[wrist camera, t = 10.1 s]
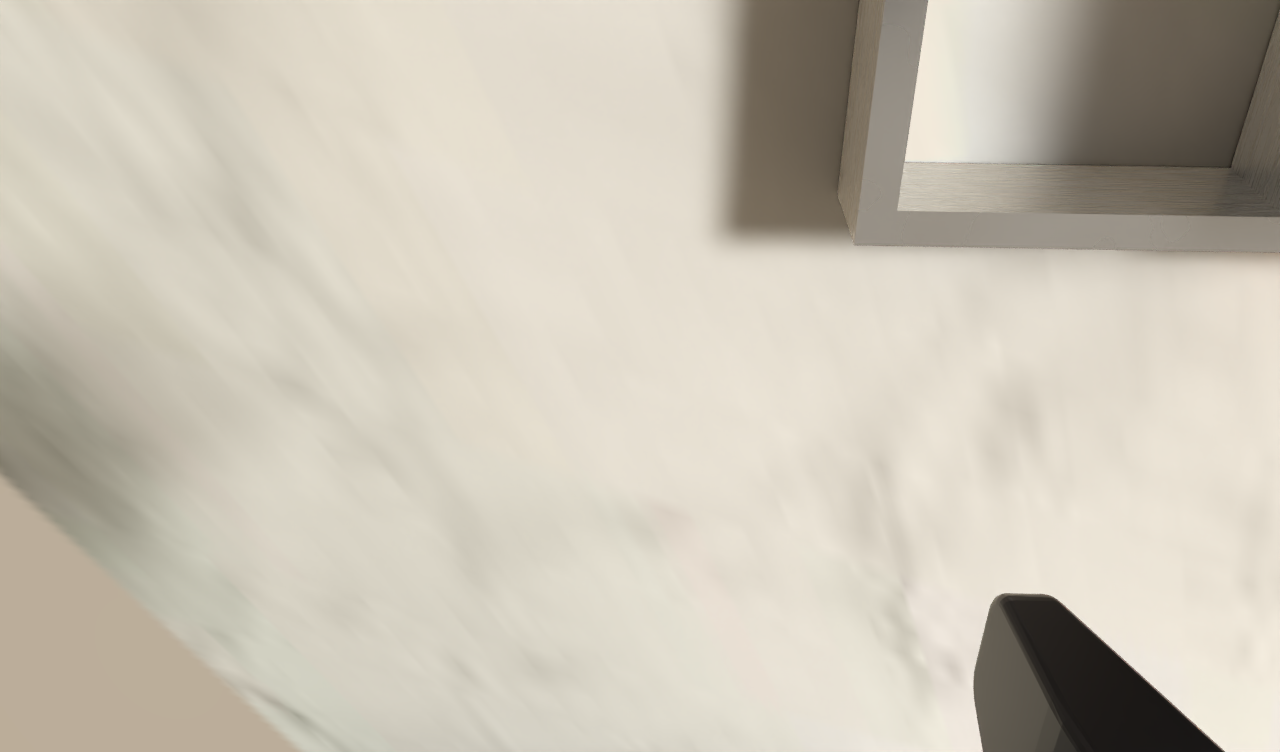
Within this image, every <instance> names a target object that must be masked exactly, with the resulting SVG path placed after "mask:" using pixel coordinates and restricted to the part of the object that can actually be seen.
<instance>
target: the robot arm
mask: <svg viewBox="0 0 1280 752" xmlns="http://www.w3.org/2000/svg"><path fill="white" fill-rule="evenodd" d="M973 689H974V701H975V707H976V713H977V719H978V725H979V731H980V737H981V743H982V749H983V752H1225V751H1224V750H1223V749H1222V748H1220V747H1219V746H1218V745H1217V744H1216V743H1215V742H1214V741H1213V740H1212V739H1211V738H1209V737H1208V736H1207V735H1206V734H1205V733H1204V732H1203V731H1202V730H1201V729H1200V728H1198V727H1197V726H1196V725H1195V724H1194V723H1193V722H1192V721H1191V720H1190V719H1189V718H1187V717H1186V716H1185V715H1184V714H1183V713H1182V712H1181V711H1180V710H1179V709H1178V708H1176V707H1175V706H1174V705H1173V704H1172V703H1171V702H1170V701H1169V700H1168V699H1167V698H1165V697H1164V696H1163V695H1162V694H1161V693H1160V692H1159V691H1158V690H1157V689H1156V688H1154V687H1153V686H1152V685H1151V684H1150V683H1149V682H1148V681H1147V680H1146V679H1145V678H1143V677H1142V676H1141V675H1140V674H1139V673H1138V672H1137V671H1136V670H1135V669H1134V668H1132V667H1131V666H1130V665H1129V664H1128V663H1127V662H1126V661H1125V660H1124V659H1123V658H1121V657H1120V656H1119V655H1118V654H1117V653H1116V652H1115V651H1114V650H1113V649H1112V648H1110V647H1109V646H1108V645H1107V644H1106V643H1105V642H1104V641H1103V640H1102V639H1101V638H1100V637H1098V636H1097V635H1096V634H1095V633H1094V632H1093V631H1092V630H1091V629H1090V628H1089V627H1087V626H1086V625H1085V624H1084V623H1083V622H1082V621H1081V620H1080V619H1079V618H1078V617H1076V616H1075V615H1074V614H1073V613H1072V612H1071V611H1070V610H1069V609H1068V608H1067V607H1065V606H1064V605H1063V604H1062V603H1061V602H1060V601H1058V600H1057V599H1055V598H1054V597H1052V596H1050V595H1045V594H1011V593H1005V594H1001V595H999V596H997V597H996V598H995V599H994V600H993V602H992V604H991V606H990V609H989V613H988V617H987V621H986V625H985V629H984V633H983V637H982V641H981V645H980V649H979V654H978V658H977V662H976V666H975V671H974V688H973Z"/></svg>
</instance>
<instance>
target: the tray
mask: <svg viewBox="0 0 1280 752" xmlns="http://www.w3.org/2000/svg"><path fill="white" fill-rule="evenodd" d="M927 4H928V0H859V8H858V17H857V26H856V35H855V43H854V52H853V61H852V70H851V78H850V87H849V96H848V105H847V113H846V122H845V131H844V140H843V148H842V157H841V166H840V174H839V183H838V192H837V195H838V198H839V201H840V204H841V207H842V210H843V213H844V216H845V219H846V222H847V225H848V228H849V231H850V234H851V237H852V240H853V243H854V245H872V246H931V247H989V248H1047V249H1106V250H1164V251H1222V252H1280V11H1279V14H1278V17H1277V20H1276V24H1275V27H1274V30H1273V33H1272V36H1271V40H1270V43H1269V46H1268V49H1267V52H1266V56H1265V59H1264V62H1263V65H1262V68H1261V72H1260V75H1259V78H1258V81H1257V84H1256V88H1255V91H1254V94H1253V97H1252V100H1251V104H1250V107H1249V110H1248V113H1247V116H1246V120H1245V123H1244V126H1243V129H1242V132H1241V136H1240V139H1239V142H1238V145H1237V148H1236V152H1235V155H1234V158H1233V161H1232V164H1231V168H1213V167H1153V166H1093V165H1033V164H973V163H913V162H904V161H905V154H906V148H907V141H908V134H909V127H910V120H911V113H912V107H913V100H914V93H915V86H916V79H917V72H918V66H919V59H920V52H921V45H922V38H923V31H924V25H925V18H926V11H927Z"/></svg>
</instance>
